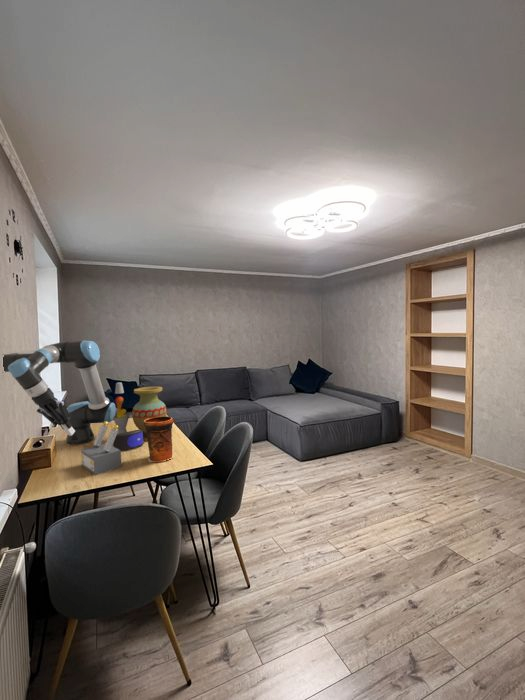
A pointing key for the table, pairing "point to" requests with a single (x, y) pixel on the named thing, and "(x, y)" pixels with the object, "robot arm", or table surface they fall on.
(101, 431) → the lever
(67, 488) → the table surface
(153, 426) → the vessel
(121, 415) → the lava lamp
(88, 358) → the robot arm
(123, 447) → the dark grey curved slab
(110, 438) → the lever
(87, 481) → the table surface
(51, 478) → the table surface
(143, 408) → the vase
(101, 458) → the console
